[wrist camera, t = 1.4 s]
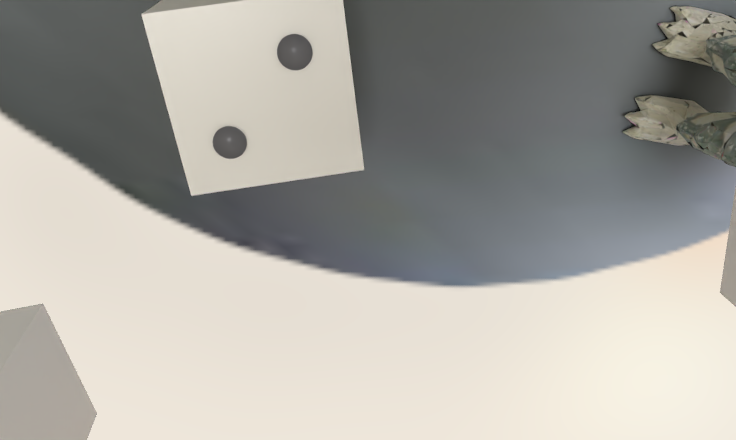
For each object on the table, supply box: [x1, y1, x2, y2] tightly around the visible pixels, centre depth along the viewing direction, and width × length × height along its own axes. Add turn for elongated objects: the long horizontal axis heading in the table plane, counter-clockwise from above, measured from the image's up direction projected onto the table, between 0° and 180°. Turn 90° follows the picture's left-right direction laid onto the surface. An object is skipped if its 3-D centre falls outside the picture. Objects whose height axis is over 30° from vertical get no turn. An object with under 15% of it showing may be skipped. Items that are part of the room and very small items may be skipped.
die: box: [141, 0, 364, 196], centre depth 22 cm, size 6×6×6 cm
